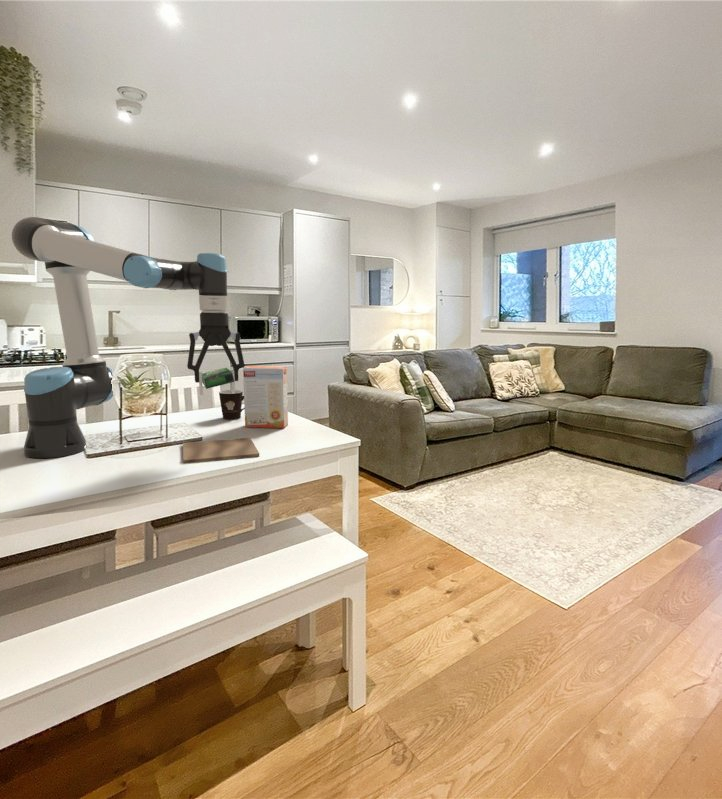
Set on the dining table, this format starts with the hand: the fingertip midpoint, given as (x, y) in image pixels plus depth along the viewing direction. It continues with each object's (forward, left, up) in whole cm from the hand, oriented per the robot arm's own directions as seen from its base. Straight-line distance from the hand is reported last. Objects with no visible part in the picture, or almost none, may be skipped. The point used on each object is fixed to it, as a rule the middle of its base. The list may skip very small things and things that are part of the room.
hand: (217, 393), depth 141 cm
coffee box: (0, -8, +5) cm, 9 cm away
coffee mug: (+9, +42, -17) cm, 46 cm away
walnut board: (0, 0, -17) cm, 17 cm away
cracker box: (+18, +26, -17) cm, 36 cm away
